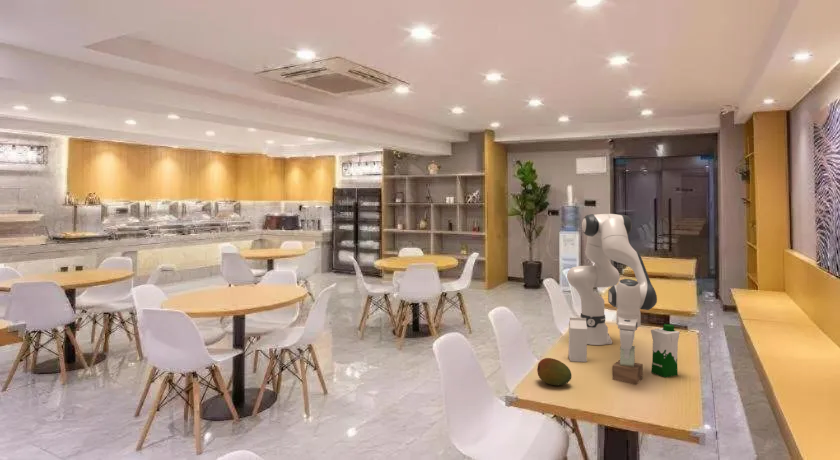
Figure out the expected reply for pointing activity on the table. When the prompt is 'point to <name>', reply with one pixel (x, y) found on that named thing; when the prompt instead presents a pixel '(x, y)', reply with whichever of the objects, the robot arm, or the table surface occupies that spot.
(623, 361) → the grey wooden block
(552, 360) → the fruit
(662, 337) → the soya milk
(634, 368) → the walnut block
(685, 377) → the table surface
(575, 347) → the milk carton
